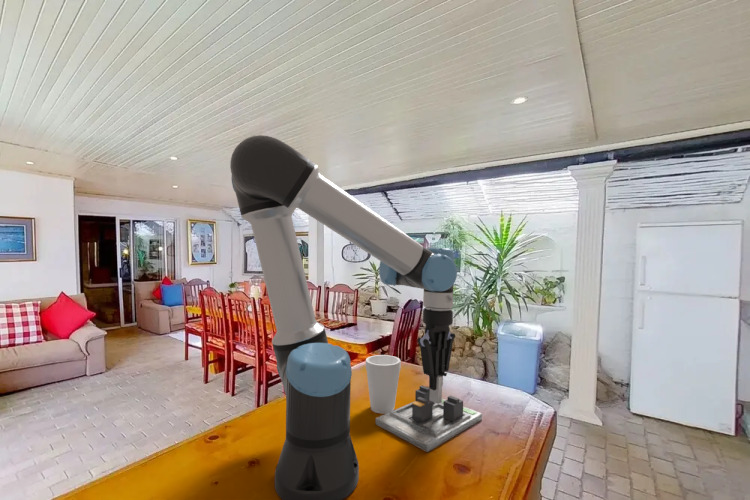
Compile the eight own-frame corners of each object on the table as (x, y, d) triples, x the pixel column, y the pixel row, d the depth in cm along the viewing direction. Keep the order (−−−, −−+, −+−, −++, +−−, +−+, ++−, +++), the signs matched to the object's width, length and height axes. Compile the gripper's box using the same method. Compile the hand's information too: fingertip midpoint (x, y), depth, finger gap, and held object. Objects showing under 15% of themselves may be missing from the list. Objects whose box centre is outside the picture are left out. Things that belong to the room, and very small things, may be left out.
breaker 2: (420, 424, 81) (421, 403, 81) (411, 419, 83) (411, 399, 83) (432, 418, 84) (432, 398, 84) (422, 414, 86) (422, 395, 86)
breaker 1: (424, 409, 89) (424, 390, 89) (415, 405, 91) (415, 387, 91) (433, 405, 91) (433, 387, 92) (424, 401, 94) (425, 383, 94)
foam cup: (400, 402, 97) (401, 355, 97) (399, 417, 88) (400, 366, 88) (367, 400, 98) (367, 354, 98) (362, 415, 89) (363, 364, 89)
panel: (427, 452, 72) (427, 442, 72) (375, 424, 84) (375, 415, 84) (481, 419, 87) (482, 411, 87) (431, 399, 99) (431, 392, 99)
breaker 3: (453, 422, 82) (453, 402, 82) (443, 417, 84) (443, 398, 84) (463, 417, 85) (463, 397, 85) (452, 412, 87) (452, 393, 87)
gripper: (434, 312, 81) (431, 413, 80) (464, 308, 90) (462, 399, 89) (410, 308, 86) (407, 403, 86) (441, 304, 95) (439, 390, 95)
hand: (435, 401), depth 87 cm, fingers closed
